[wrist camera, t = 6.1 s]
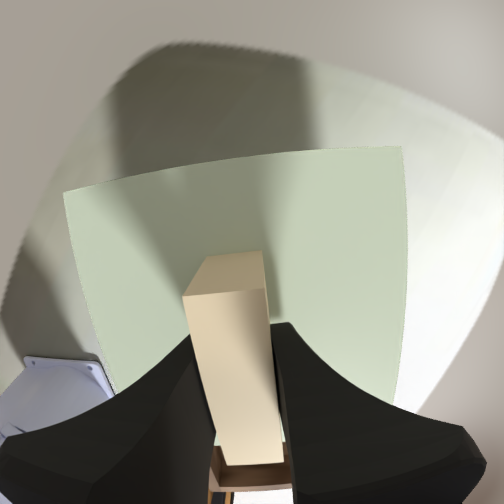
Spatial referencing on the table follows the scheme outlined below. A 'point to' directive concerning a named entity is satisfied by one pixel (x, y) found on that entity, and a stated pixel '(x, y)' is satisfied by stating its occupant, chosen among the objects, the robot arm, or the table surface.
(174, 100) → the table surface
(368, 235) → the lid
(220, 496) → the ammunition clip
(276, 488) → the wooden open box
